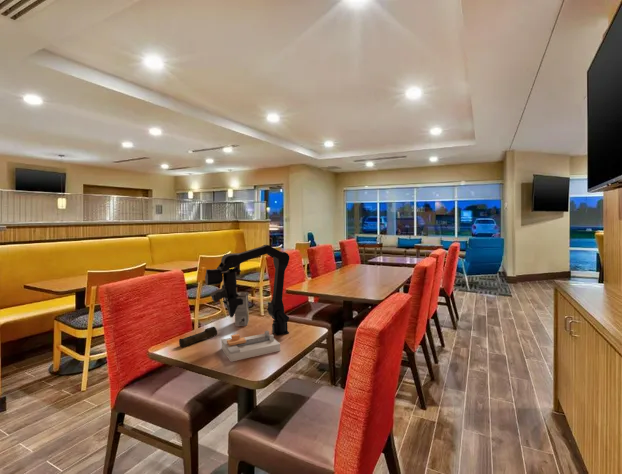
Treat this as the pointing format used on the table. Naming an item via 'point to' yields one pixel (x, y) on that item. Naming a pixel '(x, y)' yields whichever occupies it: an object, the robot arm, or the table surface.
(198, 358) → the table surface
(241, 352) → the mount block
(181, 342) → the hand tool
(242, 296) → the coffee box
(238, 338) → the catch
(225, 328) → the table surface
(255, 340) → the grey flat bar
